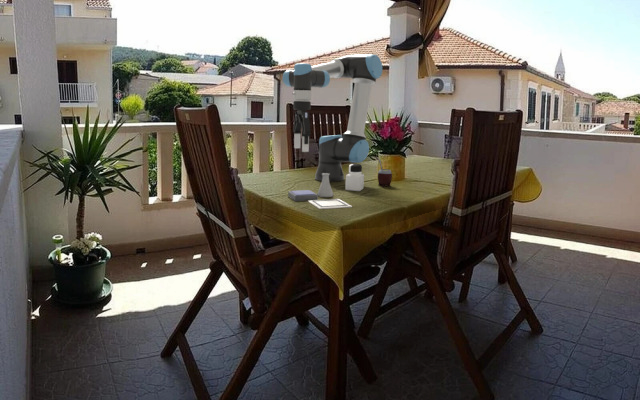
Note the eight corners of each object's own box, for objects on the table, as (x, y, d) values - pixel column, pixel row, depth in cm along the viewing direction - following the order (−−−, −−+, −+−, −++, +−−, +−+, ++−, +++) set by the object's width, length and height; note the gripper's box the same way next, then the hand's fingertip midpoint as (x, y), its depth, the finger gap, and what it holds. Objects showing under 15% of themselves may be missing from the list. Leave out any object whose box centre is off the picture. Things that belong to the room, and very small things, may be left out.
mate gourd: (393, 185, 245) (394, 155, 242) (388, 188, 238) (390, 157, 235) (378, 183, 248) (380, 154, 245) (373, 186, 242) (375, 156, 238)
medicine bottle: (363, 188, 235) (364, 163, 232) (359, 191, 228) (360, 165, 226) (349, 187, 237) (350, 162, 235) (345, 190, 231) (346, 164, 228)
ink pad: (310, 195, 217) (310, 189, 217) (317, 199, 208) (317, 194, 207) (288, 196, 214) (288, 190, 213) (295, 201, 205) (295, 195, 204)
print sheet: (339, 199, 209) (339, 198, 209) (352, 207, 196) (352, 205, 196) (307, 201, 204) (308, 200, 204) (319, 209, 192) (319, 207, 191)
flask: (322, 193, 221) (323, 171, 219) (336, 195, 217) (337, 173, 215) (313, 196, 215) (314, 173, 213) (327, 198, 211) (328, 175, 209)
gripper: (286, 99, 222) (286, 146, 226) (301, 101, 198) (300, 153, 203) (302, 100, 224) (301, 146, 228) (319, 101, 201) (317, 153, 205)
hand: (301, 150), depth 216 cm, fingers open, 13 cm apart
